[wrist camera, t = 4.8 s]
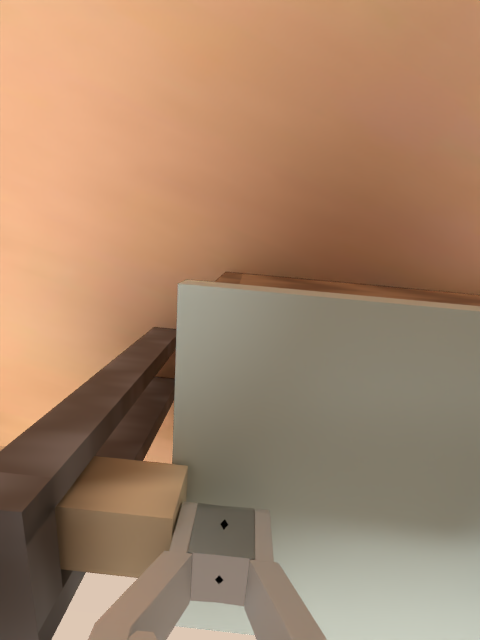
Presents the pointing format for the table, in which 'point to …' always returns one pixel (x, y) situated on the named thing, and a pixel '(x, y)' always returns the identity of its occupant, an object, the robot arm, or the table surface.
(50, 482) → the toolbox
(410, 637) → the lid
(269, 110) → the table surface
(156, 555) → the light wooden beam
